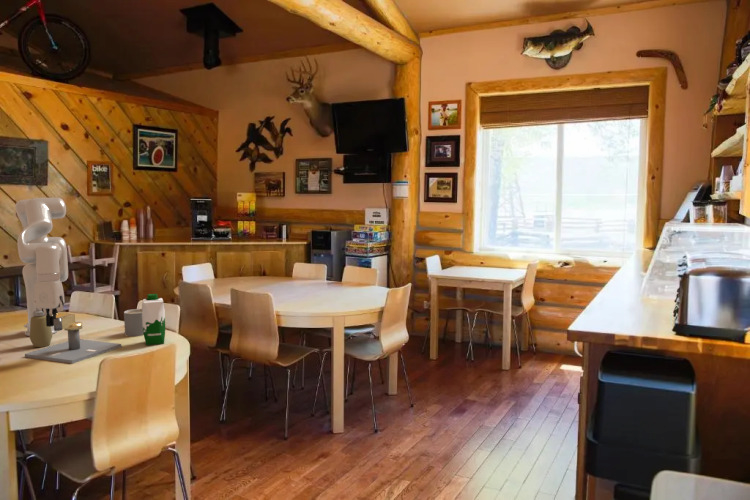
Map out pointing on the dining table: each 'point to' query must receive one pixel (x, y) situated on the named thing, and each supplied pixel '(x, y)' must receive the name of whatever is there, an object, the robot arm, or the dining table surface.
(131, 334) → the coffee mug
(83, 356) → the post base
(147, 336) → the milk carton
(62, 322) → the tan piece
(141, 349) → the dining table surface
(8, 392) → the dining table surface
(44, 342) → the squeeze bottle
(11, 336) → the dining table surface
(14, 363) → the dining table surface
